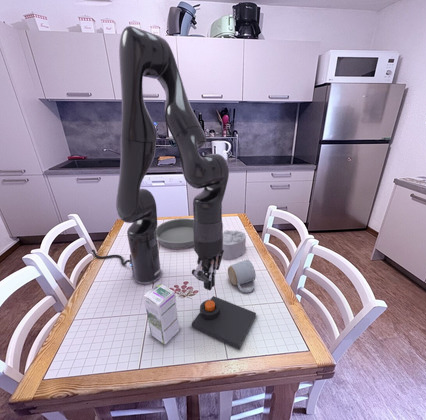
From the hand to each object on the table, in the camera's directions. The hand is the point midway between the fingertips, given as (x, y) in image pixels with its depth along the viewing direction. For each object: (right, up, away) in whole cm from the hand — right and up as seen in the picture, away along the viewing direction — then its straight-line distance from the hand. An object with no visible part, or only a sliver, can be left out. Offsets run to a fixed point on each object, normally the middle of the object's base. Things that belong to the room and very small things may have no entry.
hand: (209, 287), depth 67 cm
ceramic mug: (+11, -5, +18) cm, 21 cm away
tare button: (0, -7, +3) cm, 8 cm away
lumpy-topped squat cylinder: (+7, +4, +37) cm, 38 cm away
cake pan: (-18, +8, +48) cm, 51 cm away
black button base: (+4, -11, +2) cm, 12 cm away
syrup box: (-12, -13, -1) cm, 18 cm away
